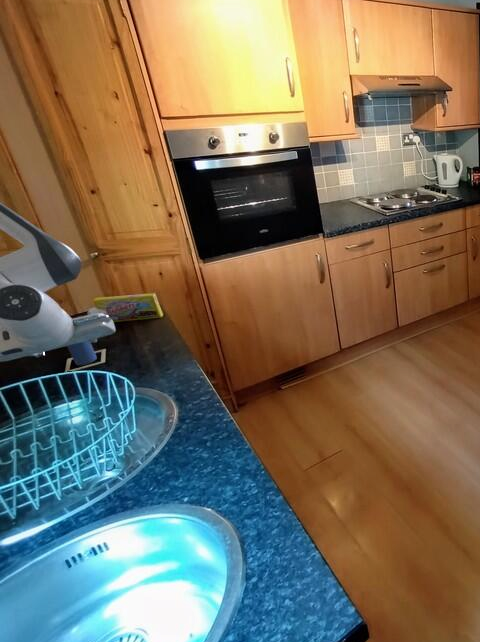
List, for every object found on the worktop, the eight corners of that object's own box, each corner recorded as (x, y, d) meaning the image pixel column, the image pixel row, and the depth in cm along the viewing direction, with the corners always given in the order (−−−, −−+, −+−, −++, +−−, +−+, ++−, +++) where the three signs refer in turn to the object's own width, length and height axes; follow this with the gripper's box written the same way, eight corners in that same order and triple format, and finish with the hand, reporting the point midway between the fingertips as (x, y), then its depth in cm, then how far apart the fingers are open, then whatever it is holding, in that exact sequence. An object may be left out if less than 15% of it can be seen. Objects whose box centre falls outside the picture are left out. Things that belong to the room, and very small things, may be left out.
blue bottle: (75, 367, 119) (57, 330, 115) (76, 360, 123) (59, 323, 118) (96, 361, 122) (80, 324, 117) (97, 354, 125) (81, 318, 120)
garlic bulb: (122, 319, 143) (116, 304, 140) (99, 327, 138) (92, 312, 136) (113, 315, 145) (107, 300, 143) (90, 323, 140) (84, 308, 138)
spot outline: (65, 373, 117) (64, 372, 117) (67, 359, 123) (67, 358, 123) (104, 362, 122) (104, 361, 122) (105, 349, 127) (105, 348, 127)
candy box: (101, 324, 140) (91, 300, 137) (105, 320, 142) (95, 297, 139) (160, 318, 144) (152, 295, 140) (164, 315, 146) (155, 292, 142)
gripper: (104, 301, 105) (118, 321, 116) (-24, 330, 94) (6, 348, 105) (110, 326, 104) (124, 343, 115) (-19, 357, 92) (11, 373, 103)
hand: (67, 346), depth 110 cm, fingers open, 8 cm apart
